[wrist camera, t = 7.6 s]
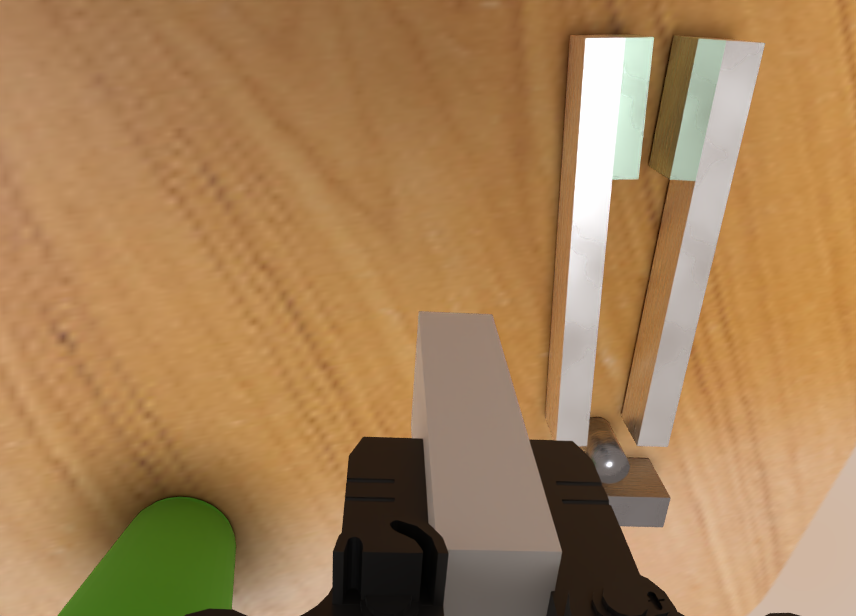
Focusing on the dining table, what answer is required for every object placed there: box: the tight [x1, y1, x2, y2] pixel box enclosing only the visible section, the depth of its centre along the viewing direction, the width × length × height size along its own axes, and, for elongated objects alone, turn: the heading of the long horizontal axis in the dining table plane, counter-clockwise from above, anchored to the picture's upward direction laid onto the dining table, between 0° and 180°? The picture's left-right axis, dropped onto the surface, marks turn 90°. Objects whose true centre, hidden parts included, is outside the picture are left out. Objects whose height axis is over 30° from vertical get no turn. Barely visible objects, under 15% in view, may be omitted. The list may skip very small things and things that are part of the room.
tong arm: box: [545, 34, 654, 446], centre depth 29 cm, size 17×2×2 cm, turn 1°
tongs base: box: [583, 35, 765, 527], centre depth 30 cm, size 21×6×3 cm, turn 176°
